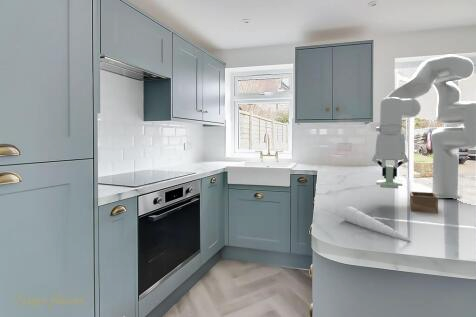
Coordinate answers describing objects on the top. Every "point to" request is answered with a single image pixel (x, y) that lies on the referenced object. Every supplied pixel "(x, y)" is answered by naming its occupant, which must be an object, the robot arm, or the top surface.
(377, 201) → the top surface
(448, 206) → the top surface
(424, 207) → the box
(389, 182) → the mint green stepped block
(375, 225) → the unicorn horn
